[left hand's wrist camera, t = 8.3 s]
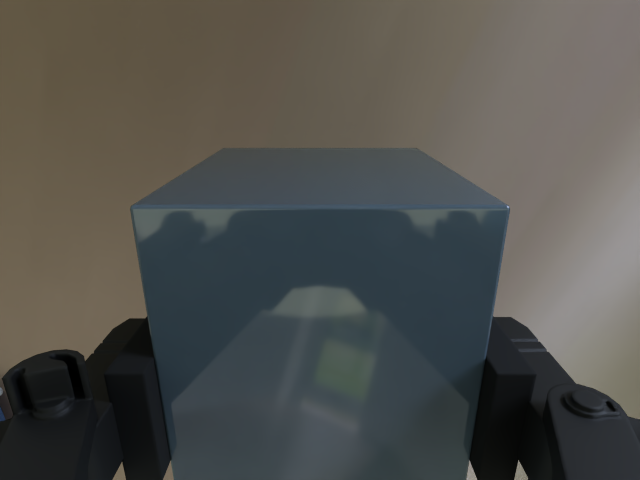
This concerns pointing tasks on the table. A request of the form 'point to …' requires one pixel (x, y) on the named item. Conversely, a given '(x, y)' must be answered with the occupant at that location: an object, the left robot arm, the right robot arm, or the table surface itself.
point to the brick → (320, 313)
